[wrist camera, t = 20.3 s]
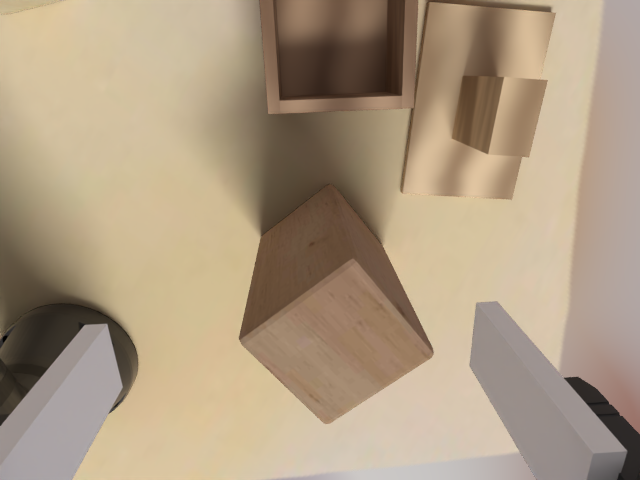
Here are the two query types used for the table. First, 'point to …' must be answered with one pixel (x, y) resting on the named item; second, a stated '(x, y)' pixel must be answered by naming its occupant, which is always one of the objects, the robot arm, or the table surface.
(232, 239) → the table surface
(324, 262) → the wooden block
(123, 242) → the table surface
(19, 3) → the toy refrigerator
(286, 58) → the brown wooden open box
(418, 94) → the lid
